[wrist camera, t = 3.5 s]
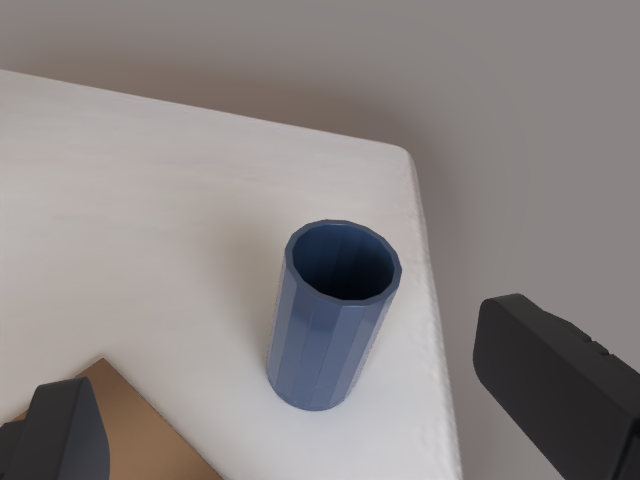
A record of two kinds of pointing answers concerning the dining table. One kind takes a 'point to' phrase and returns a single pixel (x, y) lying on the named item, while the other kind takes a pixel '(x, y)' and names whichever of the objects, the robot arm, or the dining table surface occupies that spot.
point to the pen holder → (328, 311)
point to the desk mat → (140, 434)
